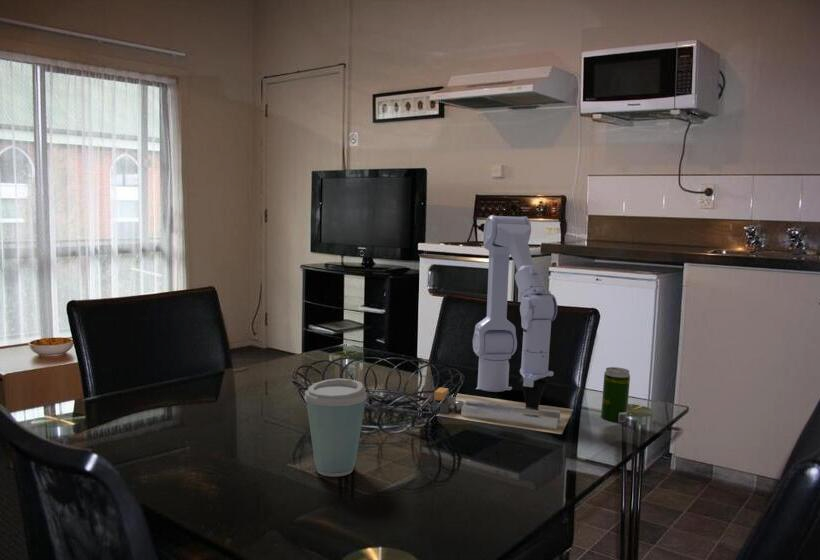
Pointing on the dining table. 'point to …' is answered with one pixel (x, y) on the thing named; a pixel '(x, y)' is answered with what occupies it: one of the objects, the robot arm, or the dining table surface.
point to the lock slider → (440, 393)
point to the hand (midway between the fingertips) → (531, 411)
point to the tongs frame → (498, 415)
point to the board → (564, 412)
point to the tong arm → (508, 408)
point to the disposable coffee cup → (335, 424)
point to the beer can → (615, 394)
